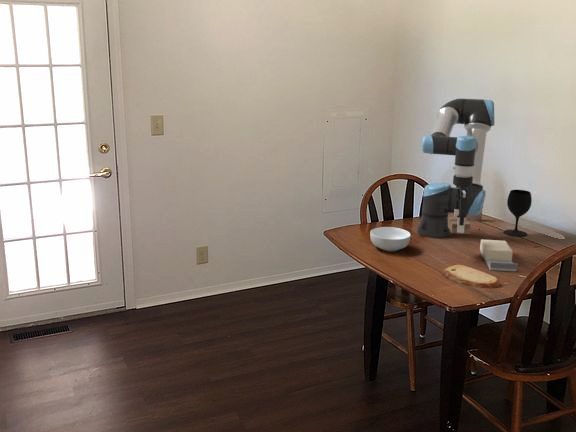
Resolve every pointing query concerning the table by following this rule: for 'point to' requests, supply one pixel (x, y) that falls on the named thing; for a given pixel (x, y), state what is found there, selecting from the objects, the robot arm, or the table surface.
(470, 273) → the bread slice
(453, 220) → the tan brown block
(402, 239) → the cereal bowl
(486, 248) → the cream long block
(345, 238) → the table surface
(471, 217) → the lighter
